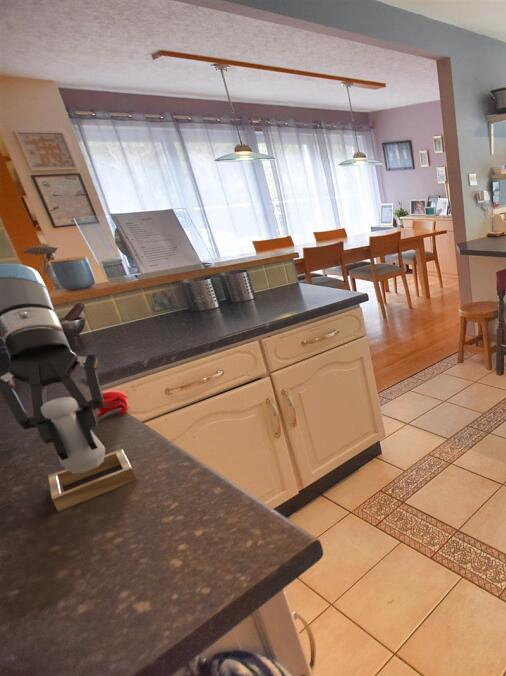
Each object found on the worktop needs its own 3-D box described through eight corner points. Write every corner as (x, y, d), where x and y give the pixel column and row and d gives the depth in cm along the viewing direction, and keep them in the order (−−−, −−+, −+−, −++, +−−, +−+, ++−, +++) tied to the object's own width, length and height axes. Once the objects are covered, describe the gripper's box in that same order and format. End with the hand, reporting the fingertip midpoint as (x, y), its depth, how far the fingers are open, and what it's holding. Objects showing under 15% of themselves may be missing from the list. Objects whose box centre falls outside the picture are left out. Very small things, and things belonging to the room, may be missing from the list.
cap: (100, 412, 105) (91, 390, 103) (132, 404, 109) (123, 382, 107) (96, 424, 99) (86, 401, 97) (130, 415, 102) (120, 392, 100)
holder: (53, 487, 77) (47, 475, 76) (126, 459, 84) (122, 448, 83) (58, 511, 71) (51, 499, 70) (136, 479, 78) (131, 467, 77)
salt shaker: (73, 463, 78) (41, 398, 73) (113, 452, 80) (85, 389, 76) (59, 481, 73) (24, 412, 68) (103, 469, 75) (72, 402, 71)
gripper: (-44, 340, 70) (-2, 467, 64) (90, 315, 80) (135, 422, 75) (-24, 363, 75) (16, 482, 69) (99, 337, 86) (142, 438, 80)
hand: (78, 450), depth 72 cm, fingers closed on salt shaker, 3 cm apart
